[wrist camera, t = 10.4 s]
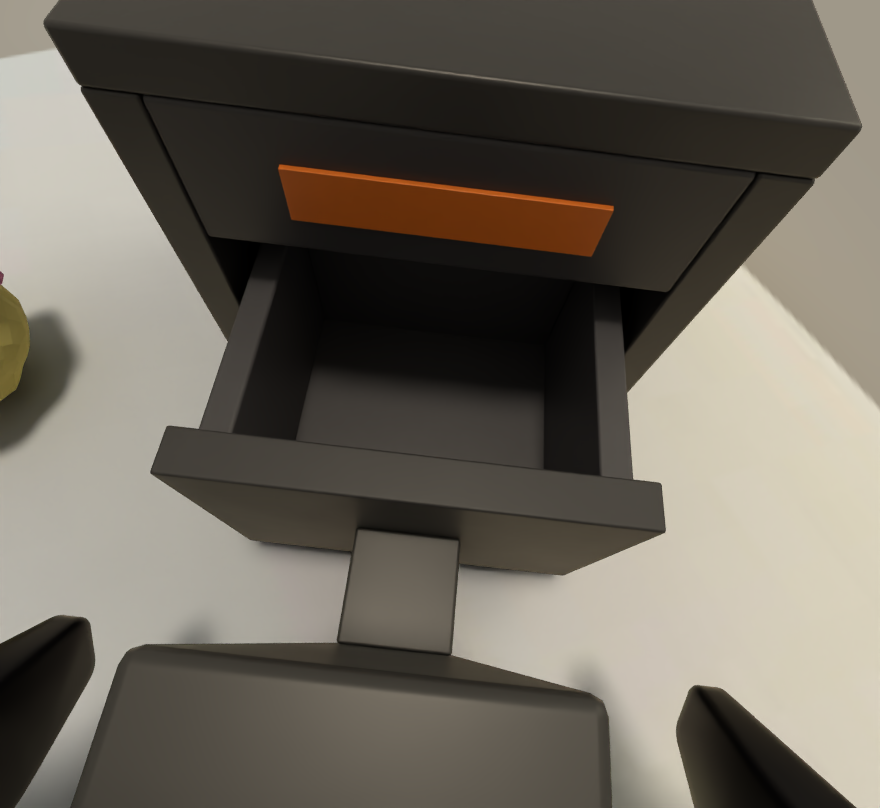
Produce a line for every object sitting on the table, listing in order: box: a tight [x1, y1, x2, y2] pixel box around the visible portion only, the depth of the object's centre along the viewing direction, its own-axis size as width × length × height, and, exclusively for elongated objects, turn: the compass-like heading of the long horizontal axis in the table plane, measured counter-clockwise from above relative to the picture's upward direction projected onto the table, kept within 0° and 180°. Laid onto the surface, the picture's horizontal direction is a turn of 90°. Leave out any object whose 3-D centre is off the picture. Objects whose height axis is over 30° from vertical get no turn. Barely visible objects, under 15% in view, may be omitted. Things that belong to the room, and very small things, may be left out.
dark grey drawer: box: [70, 243, 666, 808], centre depth 8 cm, size 11×8×10 cm
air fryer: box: [44, 0, 862, 392], centre depth 12 cm, size 8×10×10 cm
